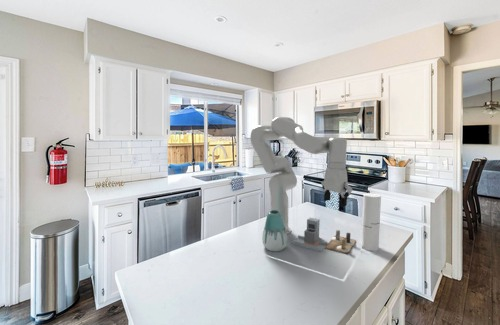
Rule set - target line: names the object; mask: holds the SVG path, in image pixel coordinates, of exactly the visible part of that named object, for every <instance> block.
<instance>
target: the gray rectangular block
mask: <svg viewBox="0 0 500 325" xmlns="http://www.w3.org/2000/svg"><path fill="white" fill-rule="evenodd" d="M308 228H312V229H316V230H319V232H318V239H319V238H320V218H314V217H309V218H307V219H306V229H308Z"/></svg>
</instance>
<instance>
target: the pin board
mask: <svg viewBox="0 0 500 325" xmlns="http://www.w3.org/2000/svg"><path fill="white" fill-rule="evenodd" d="M345 235H346V236H341V230H340V229H336V230H335V235H334V236H332V237H331V239H330V240H329V242H327V245H326V246H325V248H324V249H326V250H328V251H329V250H330V251H332V252H333V251H334V252H336V253H337V252H338V253H342V254H345V255H348V254H349V253H350V251H351V250H352V248H353V247H354V245H355V244H356V243H357V240H356V239H353V238H351V232H346V233H345Z"/></svg>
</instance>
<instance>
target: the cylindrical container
mask: <svg viewBox="0 0 500 325" xmlns="http://www.w3.org/2000/svg"><path fill="white" fill-rule="evenodd" d="M381 202H382V195H381V194H380V193H379V194H378V193H374V192H373V193H372V192H371V193H370V192H367V193H363V203H362V220H361V221H362V224H361V226H362V227H361V230H362V231H361V244H360V245H361V248H362V249H364V250H365V251H369V252H370V251H371V252H376V251H378V250H379V246H380V245H379V244H380V225H381V224H380V221H381V204H382V203H381Z"/></svg>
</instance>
